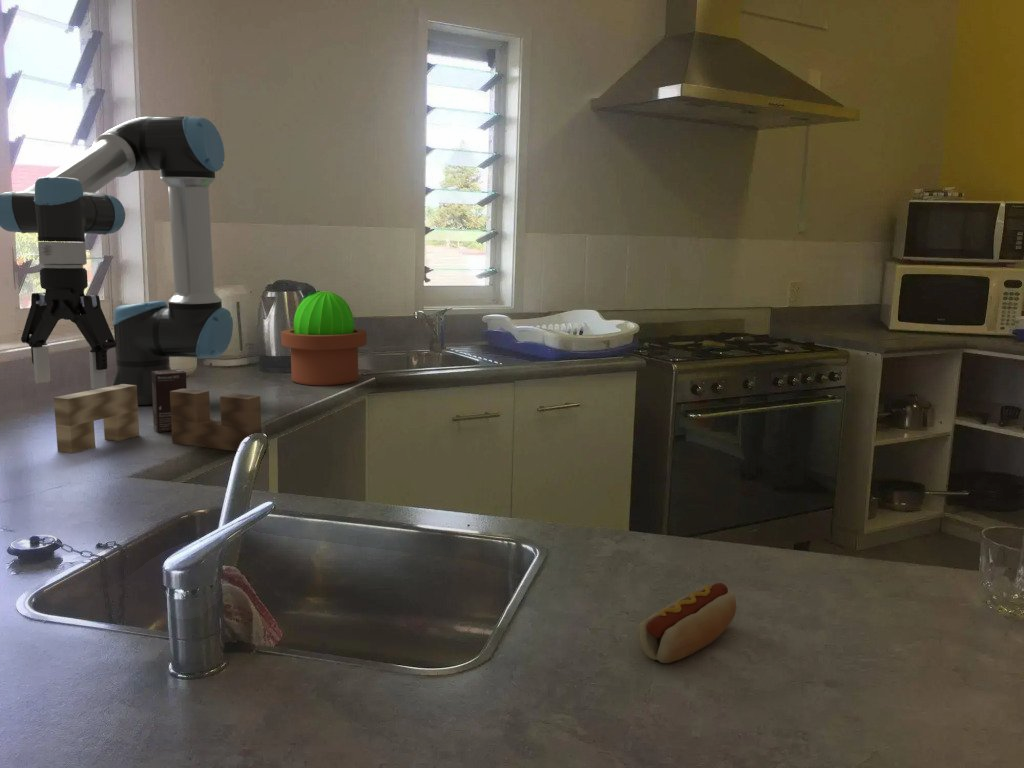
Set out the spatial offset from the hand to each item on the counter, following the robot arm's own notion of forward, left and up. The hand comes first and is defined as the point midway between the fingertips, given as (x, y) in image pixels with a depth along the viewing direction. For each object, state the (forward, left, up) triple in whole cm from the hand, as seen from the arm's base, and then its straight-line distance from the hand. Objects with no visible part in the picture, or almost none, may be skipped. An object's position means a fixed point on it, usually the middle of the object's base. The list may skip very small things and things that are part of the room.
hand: (70, 385), depth 159 cm
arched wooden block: (-5, +3, -12) cm, 13 cm away
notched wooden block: (-1, +25, -12) cm, 28 cm away
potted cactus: (-75, +40, -12) cm, 86 cm away
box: (-16, +13, -12) cm, 24 cm away
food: (+87, +87, -12) cm, 123 cm away
